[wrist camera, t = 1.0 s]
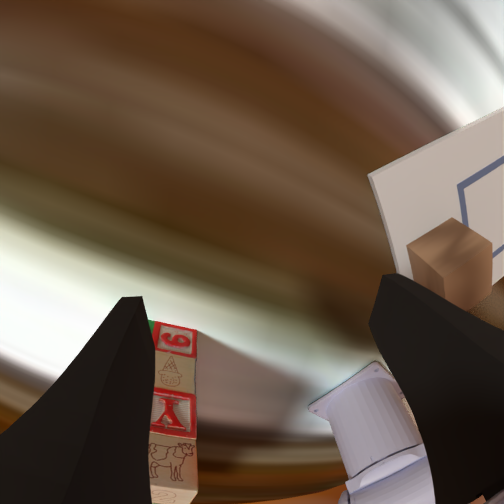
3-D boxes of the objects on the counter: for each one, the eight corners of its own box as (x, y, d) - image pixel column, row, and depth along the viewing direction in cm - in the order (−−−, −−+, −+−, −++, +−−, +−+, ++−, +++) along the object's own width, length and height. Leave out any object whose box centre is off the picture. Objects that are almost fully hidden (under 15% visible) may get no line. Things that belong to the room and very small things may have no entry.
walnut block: (451, 217, 19) (492, 243, 15) (457, 263, 21) (491, 292, 17) (406, 245, 20) (443, 277, 16) (415, 290, 22) (447, 325, 18)
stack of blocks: (161, 455, 29) (160, 546, 18) (109, 444, 28) (99, 535, 17) (198, 327, 21) (200, 495, 10) (111, 306, 20) (61, 467, 9)
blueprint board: (538, 90, 15) (543, 91, 15) (547, 229, 22) (551, 232, 22) (367, 174, 18) (372, 177, 17) (410, 336, 25) (414, 341, 24)
